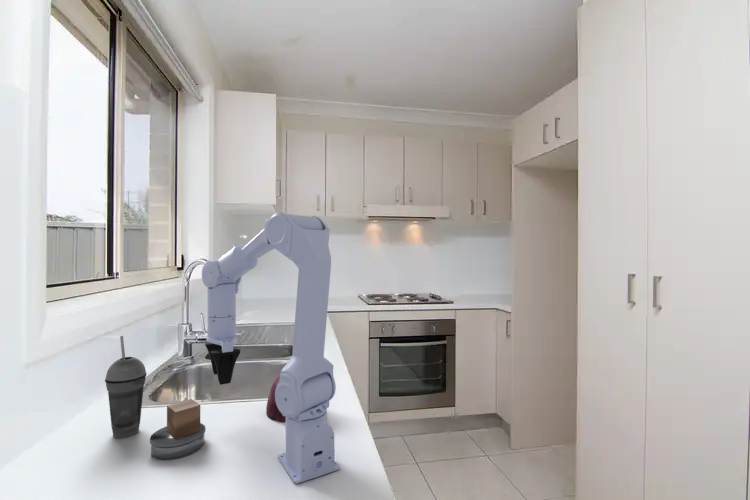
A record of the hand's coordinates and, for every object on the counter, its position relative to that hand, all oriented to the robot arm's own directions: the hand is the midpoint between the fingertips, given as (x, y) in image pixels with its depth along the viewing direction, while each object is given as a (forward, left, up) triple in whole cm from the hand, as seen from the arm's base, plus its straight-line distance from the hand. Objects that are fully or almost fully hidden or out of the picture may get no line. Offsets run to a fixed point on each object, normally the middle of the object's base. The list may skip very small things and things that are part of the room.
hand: (221, 378), depth 81 cm
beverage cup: (+6, +18, -10) cm, 21 cm away
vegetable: (-2, -14, -10) cm, 18 cm away
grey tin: (-6, +9, -10) cm, 15 cm away
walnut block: (-6, +8, -7) cm, 12 cm away
